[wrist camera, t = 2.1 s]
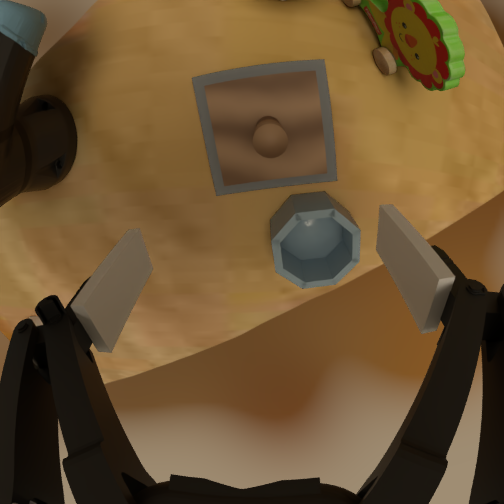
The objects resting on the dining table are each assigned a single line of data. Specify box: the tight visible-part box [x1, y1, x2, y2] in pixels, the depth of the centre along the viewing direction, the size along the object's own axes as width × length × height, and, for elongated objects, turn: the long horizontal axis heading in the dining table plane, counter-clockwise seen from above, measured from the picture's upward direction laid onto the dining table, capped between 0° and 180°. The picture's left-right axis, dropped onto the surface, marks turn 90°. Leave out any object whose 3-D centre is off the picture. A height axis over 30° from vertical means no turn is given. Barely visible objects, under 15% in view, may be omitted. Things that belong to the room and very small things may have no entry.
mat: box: [192, 59, 337, 196], centre depth 33 cm, size 16×16×1 cm
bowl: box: [270, 191, 361, 289], centre depth 38 cm, size 11×11×6 cm
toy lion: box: [343, 0, 465, 91], centre depth 19 cm, size 16×5×15 cm, turn 28°
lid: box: [204, 71, 327, 186], centre depth 28 cm, size 13×13×11 cm
